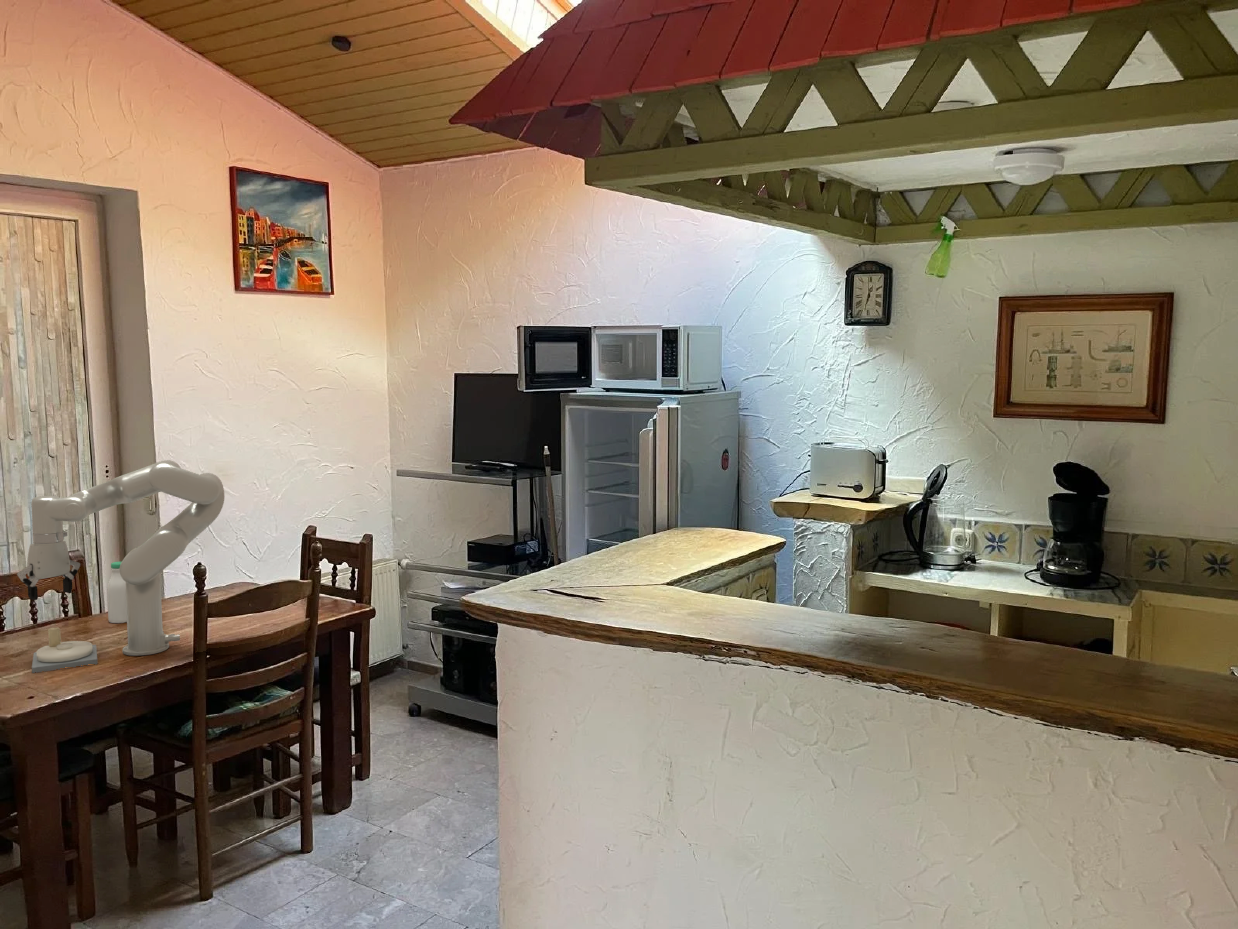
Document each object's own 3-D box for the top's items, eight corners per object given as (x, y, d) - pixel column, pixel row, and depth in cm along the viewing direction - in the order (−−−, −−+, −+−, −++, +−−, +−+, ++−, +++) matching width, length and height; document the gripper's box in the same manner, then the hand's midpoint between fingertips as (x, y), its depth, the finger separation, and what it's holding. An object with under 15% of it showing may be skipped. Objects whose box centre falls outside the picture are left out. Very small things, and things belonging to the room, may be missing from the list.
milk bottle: (120, 624, 306) (117, 565, 303) (103, 622, 308) (100, 564, 306) (139, 618, 313) (136, 561, 311) (122, 616, 315) (119, 559, 313)
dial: (92, 645, 277) (91, 622, 277) (93, 657, 265) (91, 634, 265) (37, 652, 270) (36, 628, 270) (36, 665, 258) (34, 641, 258)
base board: (96, 649, 279) (96, 644, 279) (97, 664, 265) (97, 659, 265) (34, 657, 271) (33, 652, 271) (32, 673, 257) (31, 667, 257)
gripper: (70, 532, 276) (73, 588, 278) (9, 541, 261) (12, 600, 263) (85, 535, 272) (87, 591, 274) (24, 544, 257) (26, 604, 259)
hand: (50, 596), depth 268 cm, fingers open, 9 cm apart
